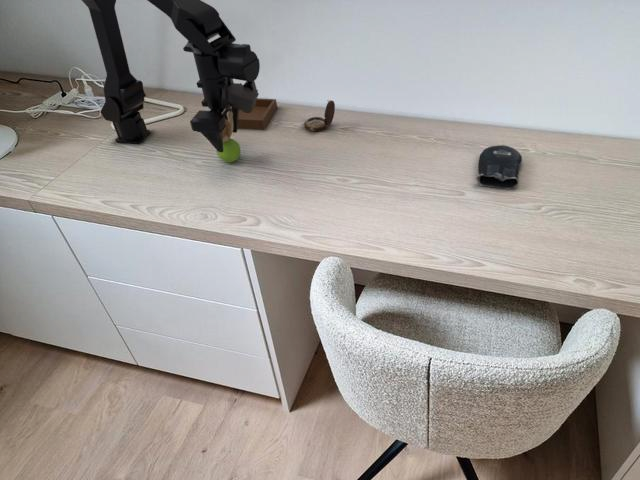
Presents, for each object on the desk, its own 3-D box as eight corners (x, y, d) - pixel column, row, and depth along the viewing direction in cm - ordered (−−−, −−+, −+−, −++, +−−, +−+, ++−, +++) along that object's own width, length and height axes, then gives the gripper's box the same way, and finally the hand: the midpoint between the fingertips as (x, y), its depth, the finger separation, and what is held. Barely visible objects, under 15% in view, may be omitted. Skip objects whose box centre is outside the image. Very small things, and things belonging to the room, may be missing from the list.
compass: (308, 119, 131) (306, 93, 126) (337, 123, 129) (335, 96, 124) (298, 133, 125) (294, 106, 120) (327, 137, 124) (325, 110, 119)
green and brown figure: (249, 155, 118) (240, 107, 110) (233, 168, 114) (222, 119, 105) (230, 150, 120) (220, 103, 111) (214, 163, 115) (202, 115, 107)
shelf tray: (217, 127, 129) (215, 117, 127) (233, 106, 138) (232, 97, 136) (264, 129, 127) (262, 120, 125) (277, 108, 136) (276, 99, 134)
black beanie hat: (519, 196, 106) (522, 152, 115) (520, 176, 102) (523, 132, 111) (475, 195, 109) (481, 153, 118) (475, 175, 105) (481, 133, 114)
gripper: (234, 94, 95) (248, 165, 106) (262, 59, 108) (273, 124, 119) (180, 92, 96) (199, 162, 107) (214, 57, 110) (229, 122, 121)
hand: (228, 141), depth 113 cm, fingers open, 9 cm apart
